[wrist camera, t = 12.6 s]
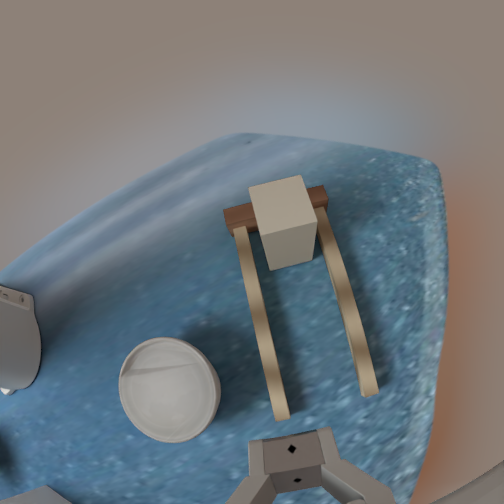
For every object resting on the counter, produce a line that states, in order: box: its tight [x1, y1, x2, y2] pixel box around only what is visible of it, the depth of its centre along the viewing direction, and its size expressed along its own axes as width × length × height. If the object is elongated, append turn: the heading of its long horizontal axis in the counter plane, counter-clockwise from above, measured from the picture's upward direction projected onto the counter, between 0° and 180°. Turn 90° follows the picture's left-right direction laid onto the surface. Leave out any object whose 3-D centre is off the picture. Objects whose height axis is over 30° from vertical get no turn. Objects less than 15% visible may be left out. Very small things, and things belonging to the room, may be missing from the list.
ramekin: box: [119, 337, 221, 443], centre depth 29 cm, size 11×11×5 cm
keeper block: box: [248, 175, 318, 271], centre depth 31 cm, size 5×5×10 cm
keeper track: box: [223, 185, 379, 421], centre depth 31 cm, size 24×12×4 cm, turn 12°
